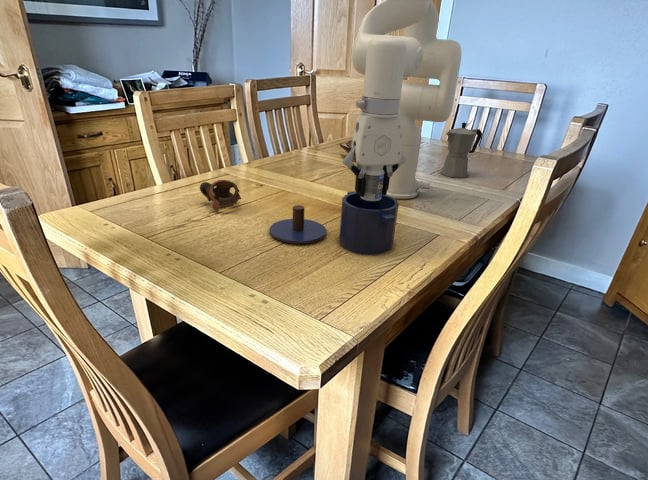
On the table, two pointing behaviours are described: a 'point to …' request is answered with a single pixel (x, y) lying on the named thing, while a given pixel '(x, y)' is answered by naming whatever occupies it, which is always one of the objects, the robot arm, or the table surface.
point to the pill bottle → (373, 183)
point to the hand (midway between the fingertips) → (371, 193)
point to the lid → (298, 228)
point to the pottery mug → (220, 193)
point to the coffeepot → (460, 150)
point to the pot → (367, 224)
